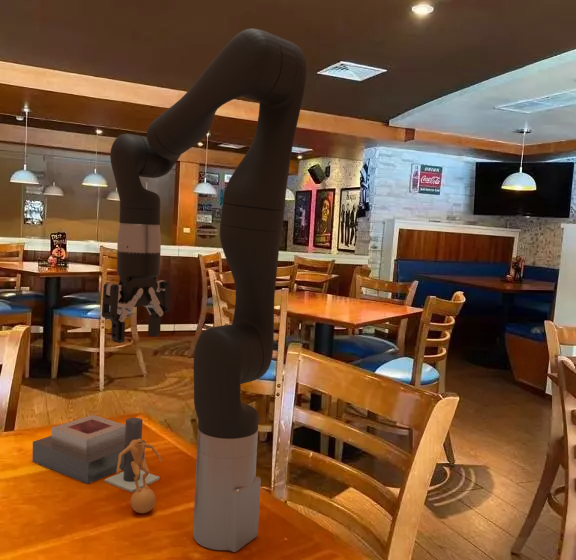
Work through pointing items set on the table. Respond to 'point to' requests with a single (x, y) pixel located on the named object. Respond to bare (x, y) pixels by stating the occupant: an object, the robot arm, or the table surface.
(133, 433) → the dark grey cylinder
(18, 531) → the table surface
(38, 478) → the table surface
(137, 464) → the figurine
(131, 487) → the pad
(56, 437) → the box
